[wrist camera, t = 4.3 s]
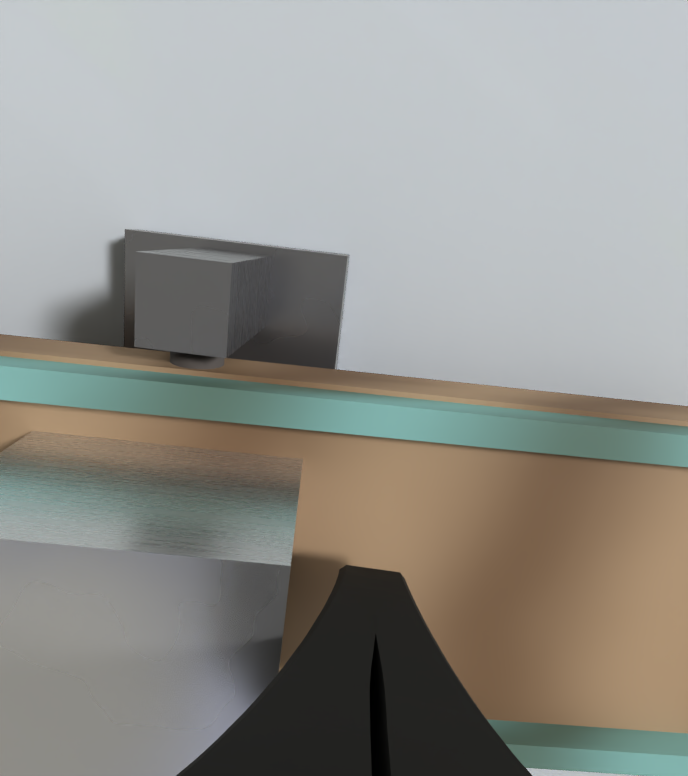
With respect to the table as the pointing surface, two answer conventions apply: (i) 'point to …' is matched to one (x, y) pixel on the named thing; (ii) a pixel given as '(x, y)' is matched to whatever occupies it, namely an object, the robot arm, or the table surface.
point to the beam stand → (233, 299)
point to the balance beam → (444, 522)
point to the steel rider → (136, 599)
